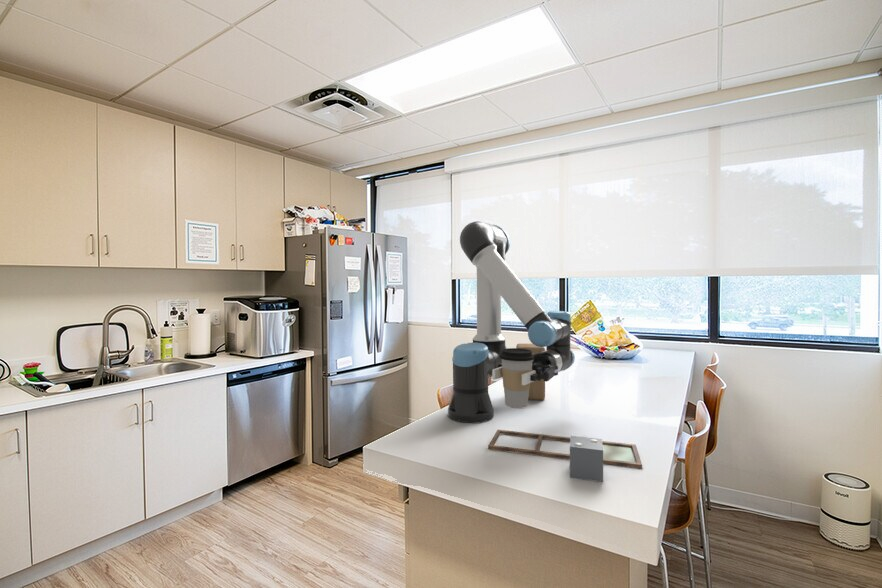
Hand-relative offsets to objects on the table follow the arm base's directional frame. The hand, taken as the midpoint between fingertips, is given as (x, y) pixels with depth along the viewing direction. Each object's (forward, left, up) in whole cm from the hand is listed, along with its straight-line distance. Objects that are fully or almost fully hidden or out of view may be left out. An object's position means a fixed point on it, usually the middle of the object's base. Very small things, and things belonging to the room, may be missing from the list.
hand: (507, 377), depth 109 cm
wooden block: (0, +52, -19) cm, 56 cm away
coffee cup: (+1, +5, -9) cm, 10 cm away
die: (+20, -9, -19) cm, 29 cm away
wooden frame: (+14, +4, -19) cm, 24 cm away
